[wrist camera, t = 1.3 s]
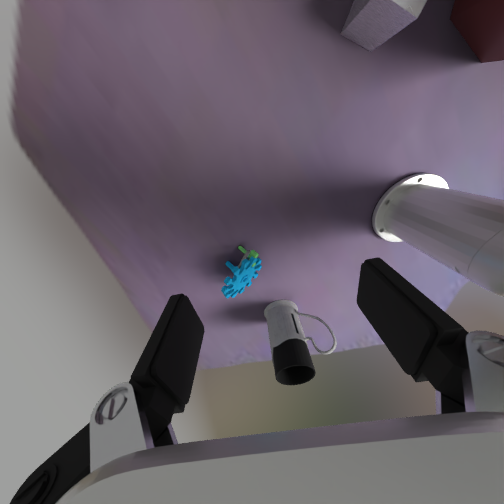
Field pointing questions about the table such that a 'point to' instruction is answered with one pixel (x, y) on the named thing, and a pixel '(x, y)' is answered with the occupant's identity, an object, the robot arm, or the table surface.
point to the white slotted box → (379, 20)
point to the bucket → (481, 27)
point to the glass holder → (290, 343)
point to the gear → (242, 273)
